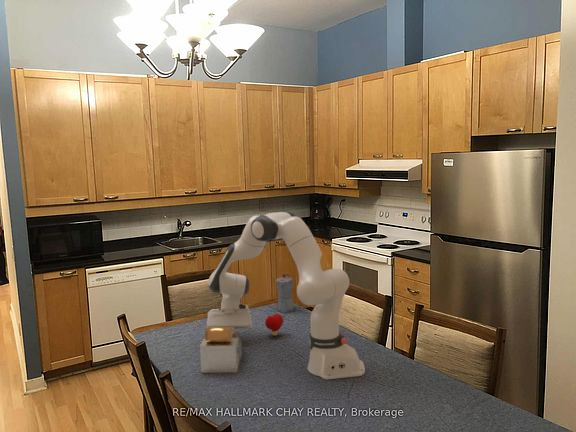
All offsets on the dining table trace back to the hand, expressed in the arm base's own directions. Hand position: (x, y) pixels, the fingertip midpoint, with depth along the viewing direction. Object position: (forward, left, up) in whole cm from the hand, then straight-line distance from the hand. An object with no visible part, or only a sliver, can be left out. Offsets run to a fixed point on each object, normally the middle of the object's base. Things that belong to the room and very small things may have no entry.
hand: (228, 337), depth 217 cm
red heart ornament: (-20, -12, -4) cm, 24 cm away
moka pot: (-24, -49, -4) cm, 55 cm away
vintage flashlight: (-1, +7, -5) cm, 8 cm away
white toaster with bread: (0, +17, -4) cm, 18 cm away
